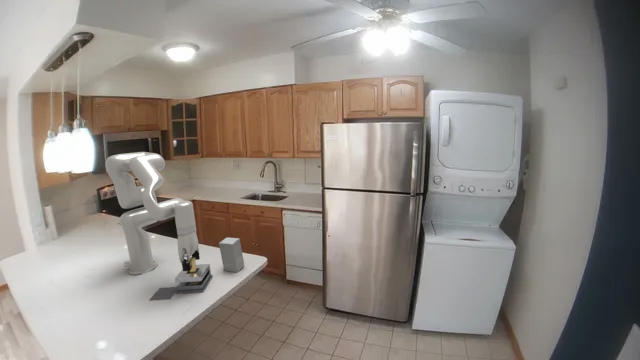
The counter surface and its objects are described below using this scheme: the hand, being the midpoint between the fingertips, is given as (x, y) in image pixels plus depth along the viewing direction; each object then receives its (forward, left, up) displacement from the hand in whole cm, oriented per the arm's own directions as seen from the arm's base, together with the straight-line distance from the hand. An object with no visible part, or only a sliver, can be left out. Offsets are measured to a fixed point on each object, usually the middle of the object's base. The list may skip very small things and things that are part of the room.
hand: (191, 264), depth 121 cm
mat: (-11, -5, -10) cm, 16 cm away
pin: (0, 0, -9) cm, 9 cm away
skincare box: (+14, +13, -11) cm, 22 cm away
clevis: (0, 0, -10) cm, 10 cm away
